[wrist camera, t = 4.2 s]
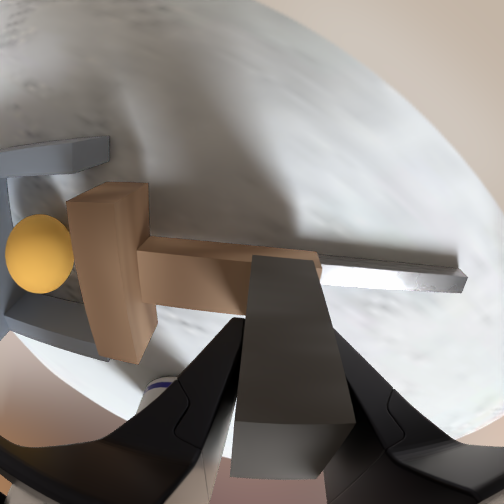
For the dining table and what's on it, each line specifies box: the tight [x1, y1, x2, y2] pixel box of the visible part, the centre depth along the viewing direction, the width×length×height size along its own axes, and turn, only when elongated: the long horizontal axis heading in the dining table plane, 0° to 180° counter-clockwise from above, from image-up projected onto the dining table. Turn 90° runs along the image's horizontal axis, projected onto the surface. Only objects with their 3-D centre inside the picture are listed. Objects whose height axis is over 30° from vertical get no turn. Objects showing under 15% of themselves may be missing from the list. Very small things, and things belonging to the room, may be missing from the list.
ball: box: [5, 214, 74, 294], centre depth 12 cm, size 4×4×4 cm
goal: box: [0, 136, 110, 362], centre depth 11 cm, size 9×11×6 cm
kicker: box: [66, 182, 356, 480], centre depth 9 cm, size 9×7×8 cm
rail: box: [317, 254, 468, 293], centre depth 13 cm, size 10×1×1 cm, turn 85°
